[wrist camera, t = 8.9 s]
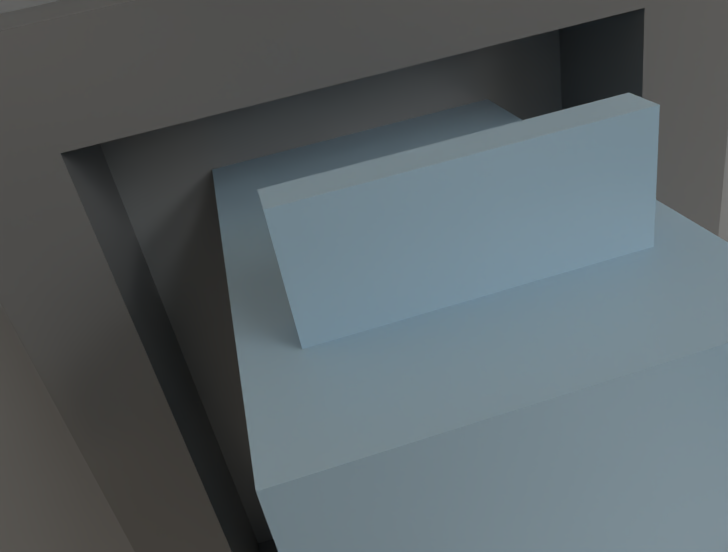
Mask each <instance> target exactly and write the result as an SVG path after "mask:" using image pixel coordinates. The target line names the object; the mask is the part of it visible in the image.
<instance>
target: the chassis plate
mask: <svg viewBox="0 0 728 552" xmlns="http://www.w3.org/2000/svg"><path fill="white" fill-rule="evenodd" d="M625 93H631V94H634V95H636V96H639V97H641V98H644V99H647V100H649V101H652V102H654V103H657V104H659V105H660V111H659V135H658V160H657V184H656V200H658V201H659V202H661V203H663V204H664V205H666V206H668V207H669V208H671V209H673V210H674V211H676V212H678V213H679V214H681V215H683V216H685V217H686V218H688V219H690V220H691V221H693V222H695V223H696V224H698V225H700V226H701V227H703V228H705V229H706V230H708V231H710V232H711V233H713V234H715V235H716V236H718V237H720V238H721V239H723V240H725V241H726V242H728V0H0V552H278V550H277V547H276V545H275V542H274V539H273V537H272V534H271V531H270V529H269V526H268V523H267V521H266V518H265V515H264V512H263V510H262V507H261V504H260V502H259V499H258V496H257V494H256V490H255V482H254V475H253V467H252V460H251V453H250V445H249V438H248V431H247V423H246V416H245V408H244V401H243V394H242V386H241V379H240V372H239V364H238V357H237V350H236V342H235V335H234V327H233V320H232V313H231V305H230V298H229V291H228V283H227V276H226V268H225V261H224V254H223V246H222V239H221V232H220V224H219V217H218V209H217V202H216V195H215V187H214V180H213V173H212V169H216V168H220V167H224V166H228V165H232V164H236V163H239V162H243V161H247V160H251V159H255V158H259V157H263V156H267V155H271V154H275V153H279V152H283V151H286V150H290V149H294V148H298V147H302V146H306V145H310V144H314V143H318V142H322V141H326V140H330V139H333V138H337V137H341V136H345V135H349V134H353V133H357V132H361V131H365V130H369V129H373V128H377V127H380V126H384V125H388V124H392V123H396V122H400V121H404V120H408V119H412V118H416V117H420V116H424V115H427V114H431V113H435V112H439V111H443V110H447V109H451V108H455V107H459V106H463V105H467V104H471V103H474V102H478V101H482V100H486V99H488V100H490V101H491V102H493V103H495V104H496V105H498V106H500V107H501V108H503V109H505V110H507V111H508V112H510V113H512V114H513V115H515V116H517V117H518V118H520V119H522V120H525V119H529V118H533V117H537V116H541V115H545V114H548V113H552V112H556V111H560V110H564V109H568V108H571V107H575V106H579V105H583V104H587V103H591V102H594V101H598V100H602V99H606V98H610V97H614V96H617V95H621V94H625Z"/></svg>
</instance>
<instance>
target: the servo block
mask: <svg viewBox="0 0 728 552" xmlns="http://www.w3.org/2000/svg"><path fill="white" fill-rule="evenodd" d="M659 111H660V105H659V104H657V103H654V102H652V101H649V100H647V99H644V98H641V97H639V96H636V95H634V94H631V93H625V94H621V95H617V96H614V97H610V98H606V99H602V100H598V101H594V102H591V103H587V104H583V105H579V106H575V107H571V108H568V109H564V110H560V111H556V112H552V113H548V114H545V115H541V116H537V117H533V118H529V119H525V120H522V119H520V118H518V117H517V116H515V115H513V114H512V113H510V112H508V111H507V110H505V109H503V108H501V107H500V106H498V105H496V104H495V103H493V102H491V101H490V100H488V99H486V100H482V101H478V102H474V103H471V104H467V105H463V106H459V107H455V108H451V109H447V110H443V111H439V112H435V113H431V114H427V115H424V116H420V117H416V118H412V119H408V120H404V121H400V122H396V123H392V124H388V125H384V126H380V127H377V128H373V129H369V130H365V131H361V132H357V133H353V134H349V135H345V136H341V137H337V138H333V139H330V140H326V141H322V142H318V143H314V144H310V145H306V146H302V147H298V148H294V149H290V150H286V151H283V152H279V153H275V154H271V155H267V156H263V157H259V158H255V159H251V160H247V161H243V162H239V163H236V164H232V165H228V166H224V167H220V168H216V169H212V173H213V180H214V187H215V195H216V202H217V209H218V217H219V224H220V232H221V239H222V246H223V254H224V261H225V268H226V276H227V283H228V291H229V298H230V305H231V313H232V320H233V327H234V335H235V342H236V350H237V357H238V364H239V372H240V379H241V386H242V394H243V401H244V408H245V416H246V423H247V431H248V438H249V445H250V453H251V460H252V467H253V475H254V482H255V490H256V494H257V496H258V499H259V502H260V504H261V507H262V510H263V512H264V515H265V518H266V521H267V523H268V526H269V529H270V531H271V534H272V537H273V539H274V542H275V545H276V547H277V550H278V552H728V242H726V241H725V240H723V239H721V238H720V237H718V236H716V235H715V234H713V233H711V232H710V231H708V230H706V229H705V228H703V227H701V226H700V225H698V224H696V223H695V222H693V221H691V220H690V219H688V218H686V217H685V216H683V215H681V214H679V213H678V212H676V211H674V210H673V209H671V208H669V207H668V206H666V205H664V204H663V203H661V202H659V201H658V200H656V184H657V160H658V135H659Z"/></svg>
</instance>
